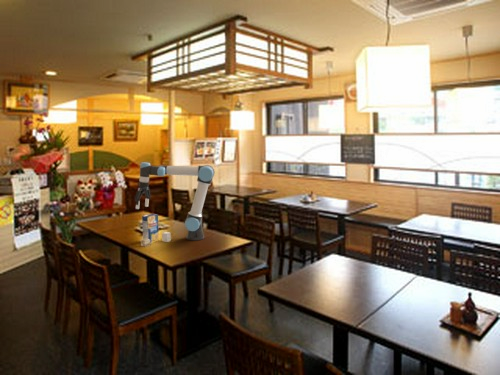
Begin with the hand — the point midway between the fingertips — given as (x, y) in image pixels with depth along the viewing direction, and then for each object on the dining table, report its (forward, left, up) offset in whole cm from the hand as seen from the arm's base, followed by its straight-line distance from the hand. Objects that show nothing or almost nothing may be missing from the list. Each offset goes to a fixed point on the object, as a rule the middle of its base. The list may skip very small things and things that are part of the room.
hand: (142, 207), depth 297 cm
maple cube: (-7, +4, -30) cm, 31 cm away
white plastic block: (-10, -15, -30) cm, 35 cm away
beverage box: (0, -7, -30) cm, 31 cm away
